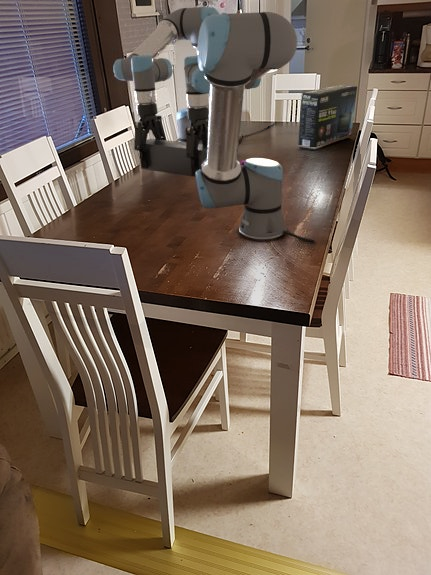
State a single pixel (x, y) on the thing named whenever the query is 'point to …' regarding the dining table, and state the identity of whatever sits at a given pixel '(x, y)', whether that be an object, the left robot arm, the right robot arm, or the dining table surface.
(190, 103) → the right robot arm
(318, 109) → the router box
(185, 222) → the dining table surface
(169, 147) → the box
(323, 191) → the dining table surface
